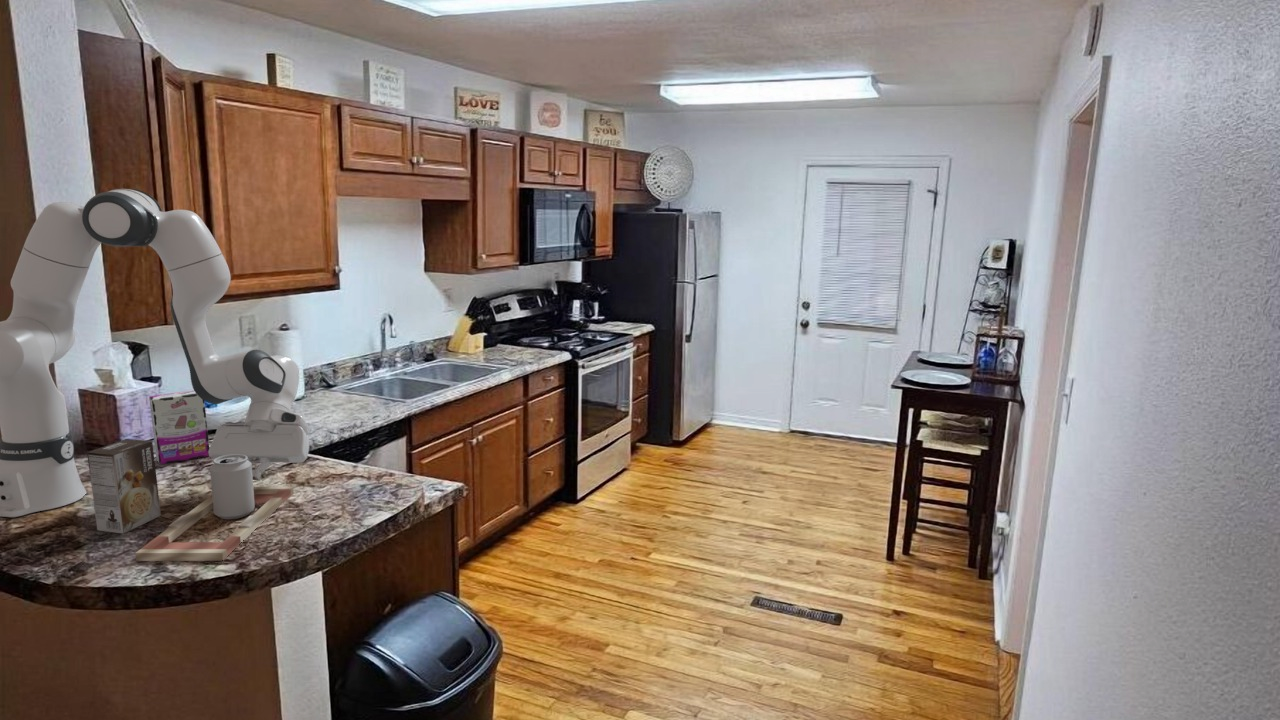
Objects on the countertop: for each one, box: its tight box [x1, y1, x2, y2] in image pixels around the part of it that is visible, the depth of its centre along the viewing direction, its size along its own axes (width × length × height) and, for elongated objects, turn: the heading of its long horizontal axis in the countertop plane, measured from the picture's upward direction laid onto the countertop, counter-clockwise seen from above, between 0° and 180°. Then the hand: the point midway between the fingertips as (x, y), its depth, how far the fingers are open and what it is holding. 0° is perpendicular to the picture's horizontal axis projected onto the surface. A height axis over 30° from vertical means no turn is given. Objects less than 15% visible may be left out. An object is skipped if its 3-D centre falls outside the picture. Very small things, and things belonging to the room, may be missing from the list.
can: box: [209, 454, 256, 520], centre depth 156 cm, size 8×8×12 cm
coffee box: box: [86, 438, 162, 534], centre depth 150 cm, size 9×6×16 cm
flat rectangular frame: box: [134, 486, 295, 562], centre depth 153 cm, size 15×33×2 cm, turn 4°
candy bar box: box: [148, 390, 210, 465], centre depth 188 cm, size 11×5×16 cm, turn 131°
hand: (251, 478), depth 165 cm, fingers closed
